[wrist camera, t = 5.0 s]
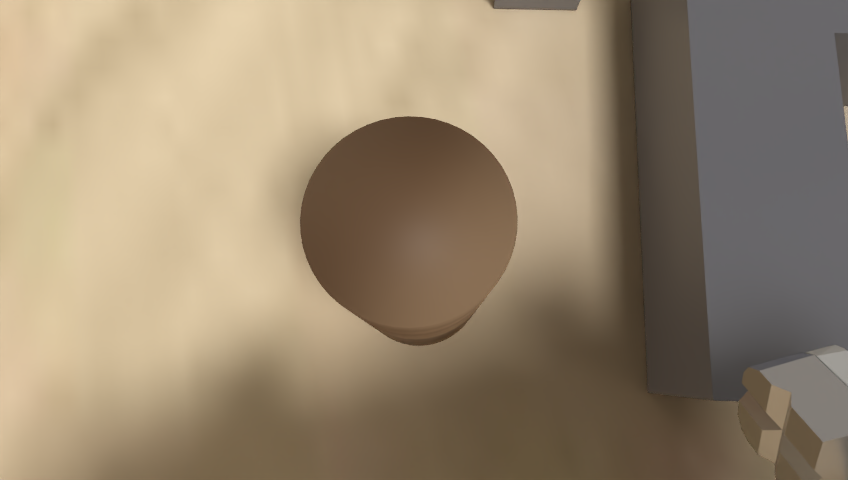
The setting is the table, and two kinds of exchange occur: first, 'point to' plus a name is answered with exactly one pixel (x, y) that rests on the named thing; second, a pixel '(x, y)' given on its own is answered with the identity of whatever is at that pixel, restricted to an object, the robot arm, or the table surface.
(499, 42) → the table surface
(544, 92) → the table surface
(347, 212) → the peg
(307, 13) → the table surface
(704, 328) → the socket station
